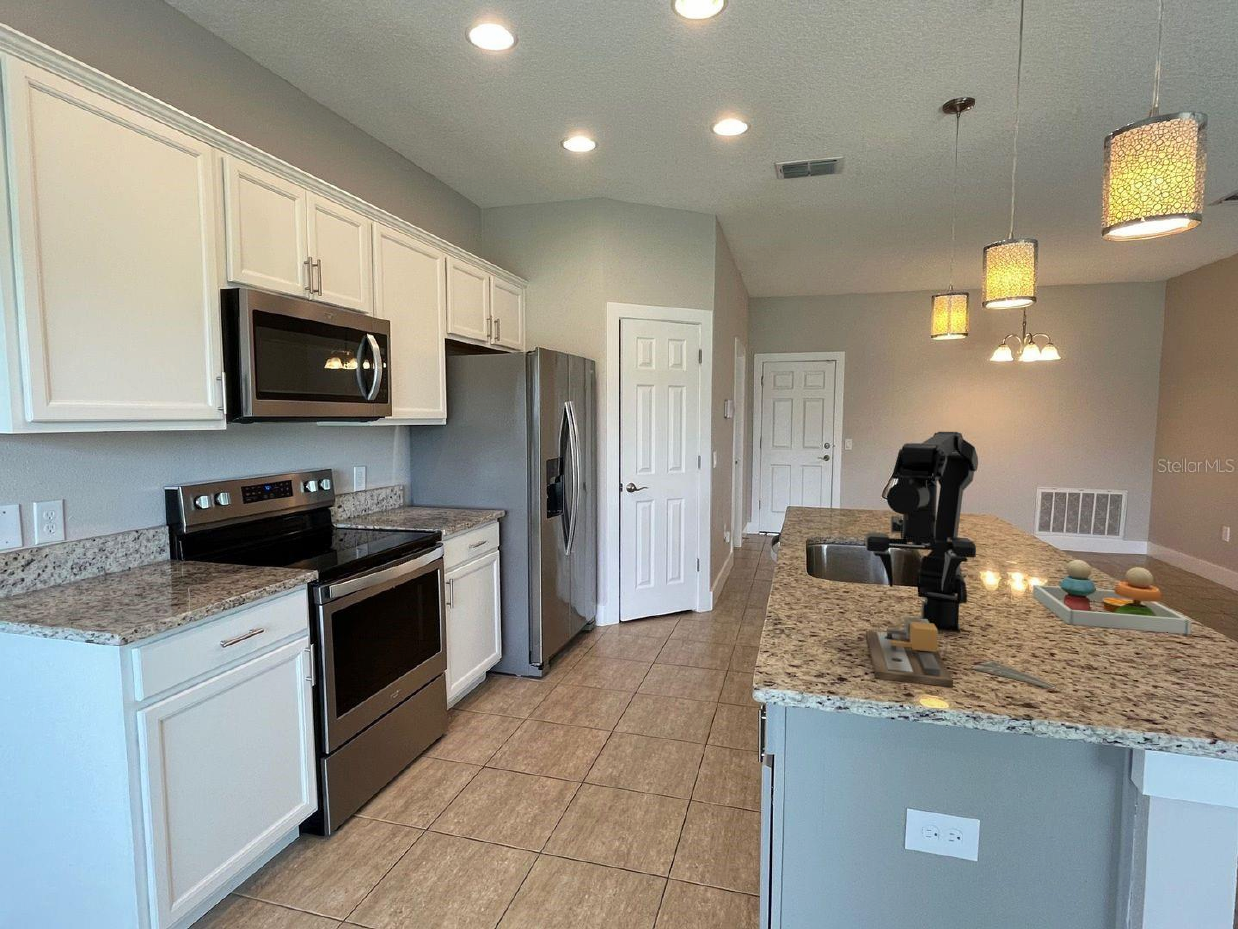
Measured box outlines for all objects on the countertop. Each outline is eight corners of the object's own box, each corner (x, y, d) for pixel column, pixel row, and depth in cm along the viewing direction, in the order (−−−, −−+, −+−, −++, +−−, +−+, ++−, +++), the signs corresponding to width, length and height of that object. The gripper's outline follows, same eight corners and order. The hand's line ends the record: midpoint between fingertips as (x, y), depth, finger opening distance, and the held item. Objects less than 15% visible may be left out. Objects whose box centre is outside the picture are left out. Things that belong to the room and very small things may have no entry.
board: (930, 643, 125) (930, 616, 124) (953, 687, 104) (954, 655, 103) (865, 636, 128) (866, 611, 128) (875, 678, 107) (876, 647, 107)
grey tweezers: (971, 672, 112) (972, 661, 111) (982, 666, 114) (983, 656, 114) (1087, 714, 98) (1089, 702, 98) (1097, 706, 101) (1098, 694, 100)
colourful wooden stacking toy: (1149, 610, 147) (1152, 558, 146) (1163, 631, 133) (1166, 573, 132) (1056, 599, 157) (1058, 550, 156) (1060, 616, 142) (1062, 563, 142)
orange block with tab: (932, 649, 116) (933, 623, 116) (936, 656, 112) (937, 630, 112) (889, 644, 118) (890, 619, 118) (891, 652, 115) (892, 626, 114)
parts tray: (1136, 604, 152) (1137, 592, 152) (1190, 634, 130) (1191, 620, 130) (1032, 596, 159) (1033, 584, 158) (1067, 624, 137) (1068, 610, 136)
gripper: (965, 505, 124) (962, 582, 125) (865, 501, 130) (862, 575, 131) (978, 513, 113) (974, 597, 114) (868, 508, 119) (866, 588, 120)
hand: (916, 588), depth 120 cm, fingers open, 9 cm apart
